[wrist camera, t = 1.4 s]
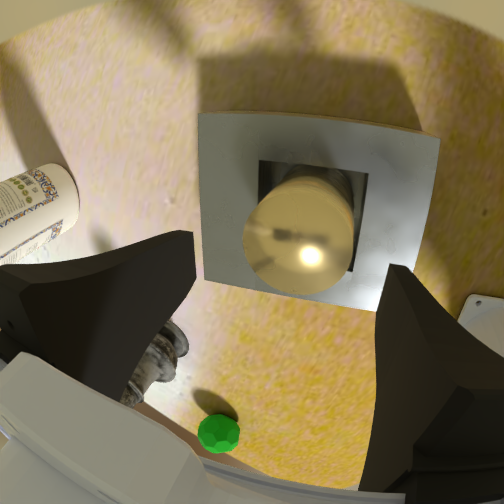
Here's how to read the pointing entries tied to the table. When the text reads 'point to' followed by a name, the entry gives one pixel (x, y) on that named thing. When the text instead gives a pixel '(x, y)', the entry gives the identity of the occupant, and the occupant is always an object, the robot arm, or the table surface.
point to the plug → (302, 231)
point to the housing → (318, 154)
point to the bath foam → (35, 210)
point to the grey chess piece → (156, 363)
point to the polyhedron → (218, 433)
